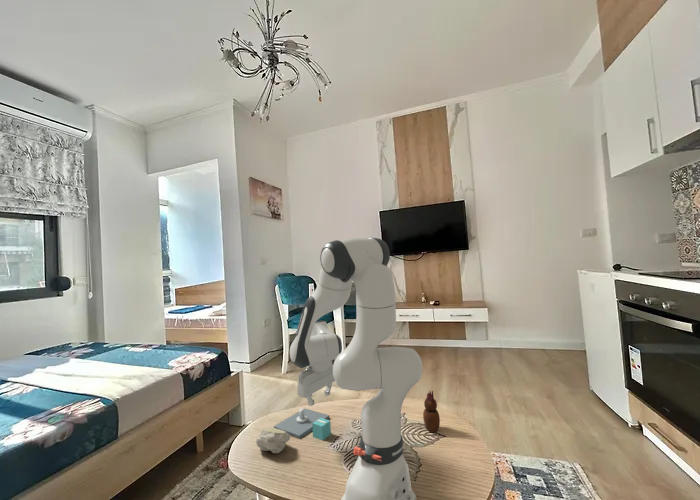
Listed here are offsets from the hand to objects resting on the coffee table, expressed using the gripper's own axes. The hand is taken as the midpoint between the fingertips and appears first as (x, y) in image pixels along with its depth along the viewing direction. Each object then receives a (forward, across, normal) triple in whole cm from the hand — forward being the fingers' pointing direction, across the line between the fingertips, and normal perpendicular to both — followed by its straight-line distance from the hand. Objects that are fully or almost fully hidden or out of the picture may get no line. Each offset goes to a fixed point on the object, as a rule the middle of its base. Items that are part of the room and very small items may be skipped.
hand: (319, 399), depth 121 cm
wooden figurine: (+13, +23, -35) cm, 44 cm away
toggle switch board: (+13, +3, +12) cm, 18 cm away
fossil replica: (+13, -16, +8) cm, 23 cm away
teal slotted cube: (+13, 0, -1) cm, 13 cm away
